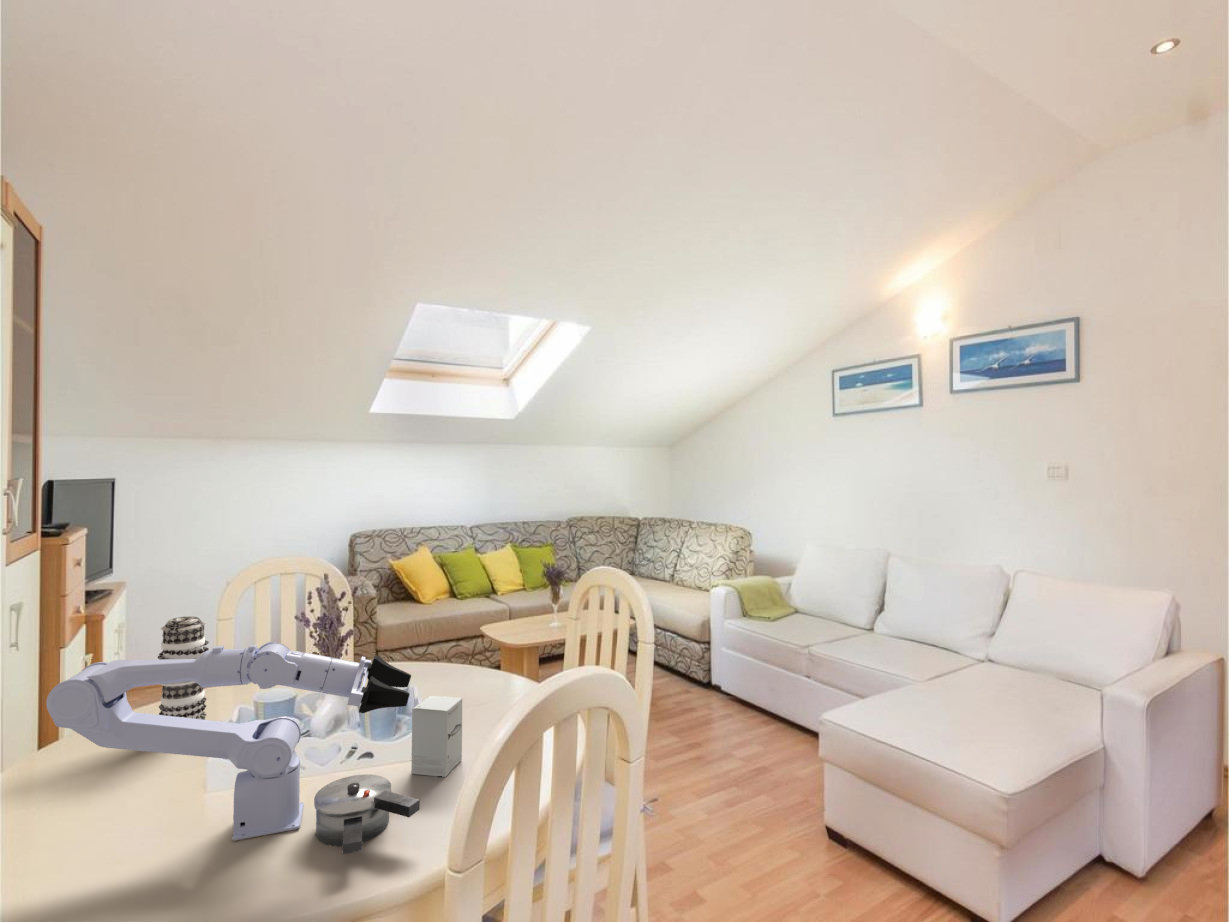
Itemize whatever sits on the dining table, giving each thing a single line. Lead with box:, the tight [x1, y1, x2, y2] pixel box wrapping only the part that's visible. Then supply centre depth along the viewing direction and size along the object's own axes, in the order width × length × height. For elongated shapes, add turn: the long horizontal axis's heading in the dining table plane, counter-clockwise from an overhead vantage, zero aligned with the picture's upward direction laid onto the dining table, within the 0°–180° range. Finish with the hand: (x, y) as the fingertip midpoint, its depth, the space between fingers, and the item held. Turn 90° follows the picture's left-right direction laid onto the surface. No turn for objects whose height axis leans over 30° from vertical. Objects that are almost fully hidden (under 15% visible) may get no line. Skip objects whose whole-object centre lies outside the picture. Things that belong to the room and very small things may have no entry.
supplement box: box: [410, 695, 463, 778], centre depth 124 cm, size 7×7×13 cm
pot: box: [315, 808, 390, 855], centre depth 101 cm, size 11×18×4 cm, turn 22°
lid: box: [313, 774, 421, 818], centre depth 103 cm, size 18×12×2 cm, turn 67°
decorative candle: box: [157, 616, 210, 720], centre depth 139 cm, size 9×9×25 cm
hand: (408, 690), depth 111 cm, fingers open, 7 cm apart
